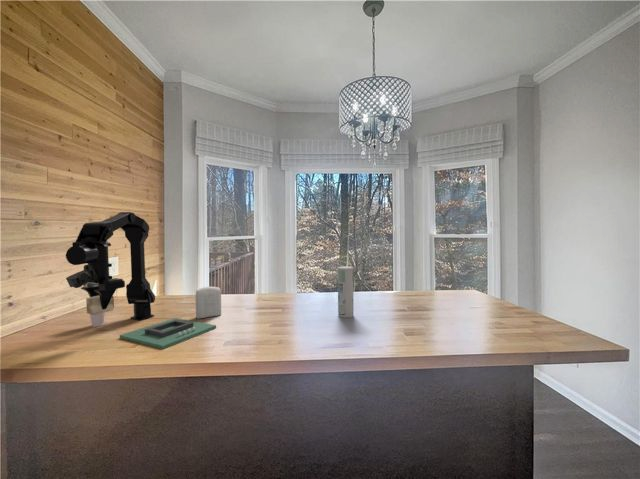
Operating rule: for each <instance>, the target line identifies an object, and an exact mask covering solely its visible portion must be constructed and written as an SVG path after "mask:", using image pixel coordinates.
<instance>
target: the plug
mask: <svg viewBox="0 0 640 479" xmlns="http://www.w3.org/2000/svg"><path fill="white" fill-rule="evenodd" d="M85 298H86V299H85V301H86V303H85V304H86V314H87V315H88V314H89V315H90V314H92V315H95V314H100V313H104V312H105V313H107V312H111V311H114V308H115V305H114V304H115V303H114V301H115V300H114V295H113V296H112V298H111V300H110V302H109V304H108V306H107V308H106V309H104V310H103V309H102V307H101V302H100V296H94V297H90V296H89V297H85Z"/></svg>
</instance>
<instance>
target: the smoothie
mask: <svg viewBox="0 0 640 479" xmlns="http://www.w3.org/2000/svg"><path fill="white" fill-rule="evenodd" d="M105 316H106V312H104V313H100V314H95V315H92V314H89V318H90V322H91V326H92V328H95V327H96V328H97V327H101V326H104V324H105Z"/></svg>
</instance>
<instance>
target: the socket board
mask: <svg viewBox="0 0 640 479" xmlns="http://www.w3.org/2000/svg"><path fill="white" fill-rule="evenodd" d="M215 329H217V325H216V324H211V323H207V322H206V323H204V322H200V321H199V322H198V321H194V320H189V319H182V318H178V317H174V318H171V319H168V320H164V321H162V322H158V323H157V322H156V323H155V324H151V325H148V326H145V327H141V328H138V329H135V330H133V331H129V332H126V333H122V334H120V335H119V339H121V338H122V340H125V339H126V341H129V340H130V342H133V341H134V343H137V342H138V344H141V343H142V345H145V344H146V346H150V347H154V348H157V349H161V350H164V349H168V348H169V347H172V346H175V345H177V344H180V343H182V342H185V341H187V340H190V339H193V338H194V337H197V336H200V335H202V334H204V333H207V332H210V331H212V330H215Z"/></svg>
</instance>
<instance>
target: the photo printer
mask: <svg viewBox="0 0 640 479" xmlns="http://www.w3.org/2000/svg"><path fill="white" fill-rule="evenodd" d="M195 290H196V291H195V318H196V319H198V320H200V319H204V318H211V317H217V316H221V315H222V291H221V287H218V286H204V287H201V288H198V289H195Z"/></svg>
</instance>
